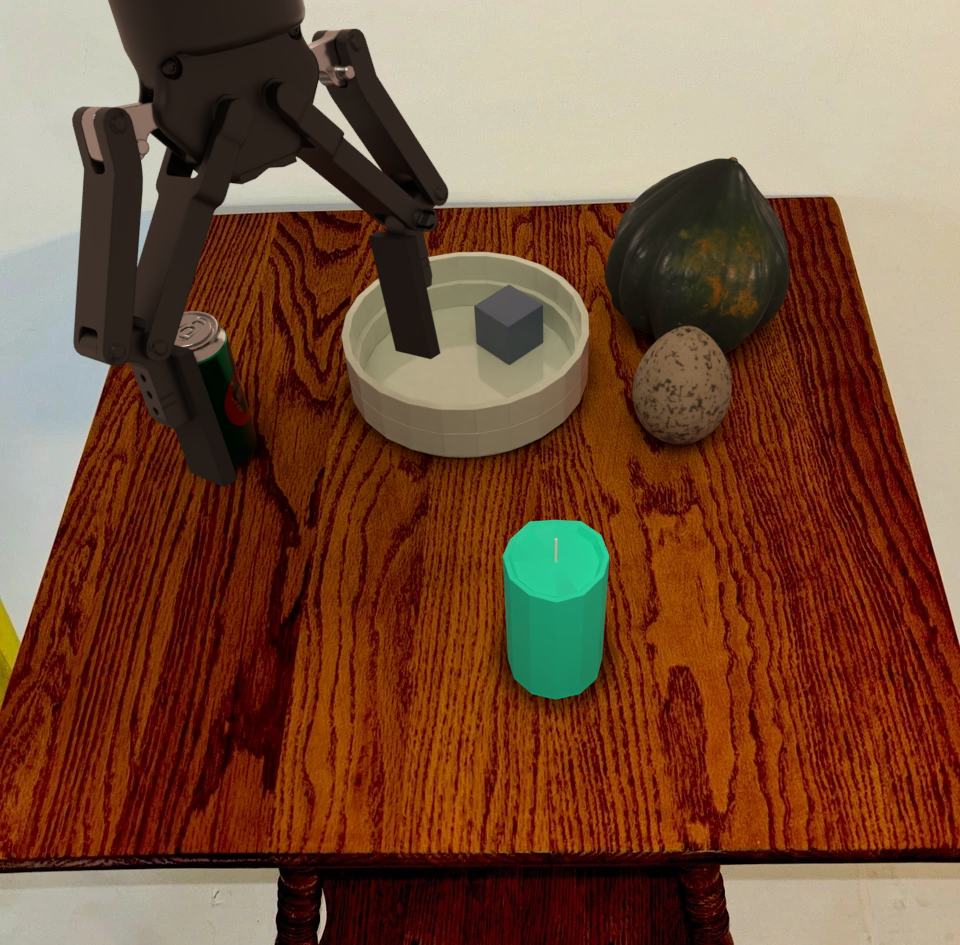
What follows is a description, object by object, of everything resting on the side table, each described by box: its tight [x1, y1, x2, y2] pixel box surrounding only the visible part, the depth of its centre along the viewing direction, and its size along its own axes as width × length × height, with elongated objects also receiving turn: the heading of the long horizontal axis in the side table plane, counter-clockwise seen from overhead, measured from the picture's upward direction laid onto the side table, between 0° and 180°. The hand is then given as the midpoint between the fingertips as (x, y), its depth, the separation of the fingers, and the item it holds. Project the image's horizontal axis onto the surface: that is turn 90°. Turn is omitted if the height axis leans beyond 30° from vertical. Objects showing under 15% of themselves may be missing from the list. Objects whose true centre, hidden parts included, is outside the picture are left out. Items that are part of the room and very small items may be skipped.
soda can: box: [174, 310, 258, 469], centre depth 76 cm, size 5×5×12 cm
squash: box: [604, 156, 791, 355], centre depth 84 cm, size 14×15×15 cm
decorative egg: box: [631, 326, 733, 445], centre depth 76 cm, size 7×7×10 cm
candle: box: [502, 519, 610, 701], centre depth 62 cm, size 6×6×12 cm
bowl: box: [340, 251, 590, 459], centre depth 83 cm, size 19×19×6 cm
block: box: [474, 285, 543, 365], centre depth 85 cm, size 4×4×4 cm
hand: (323, 410), depth 52 cm, fingers open, 13 cm apart
